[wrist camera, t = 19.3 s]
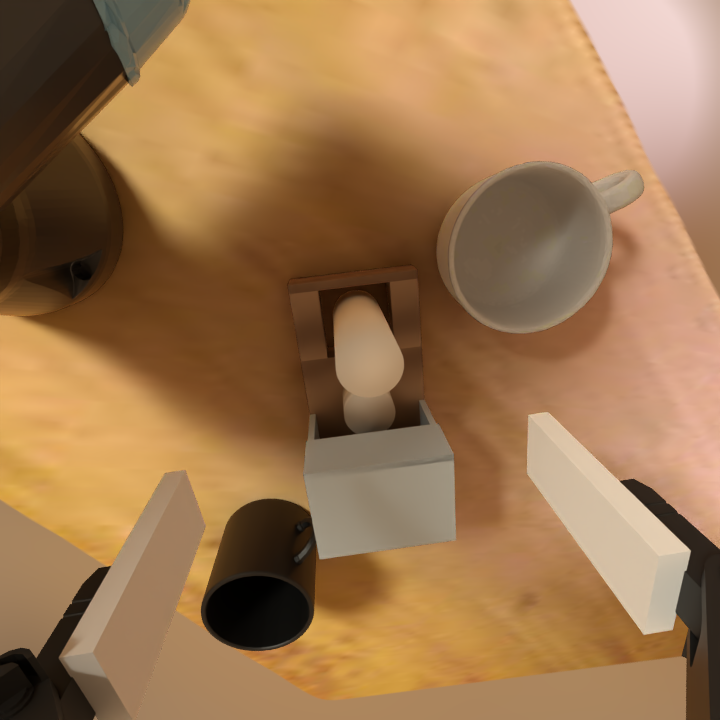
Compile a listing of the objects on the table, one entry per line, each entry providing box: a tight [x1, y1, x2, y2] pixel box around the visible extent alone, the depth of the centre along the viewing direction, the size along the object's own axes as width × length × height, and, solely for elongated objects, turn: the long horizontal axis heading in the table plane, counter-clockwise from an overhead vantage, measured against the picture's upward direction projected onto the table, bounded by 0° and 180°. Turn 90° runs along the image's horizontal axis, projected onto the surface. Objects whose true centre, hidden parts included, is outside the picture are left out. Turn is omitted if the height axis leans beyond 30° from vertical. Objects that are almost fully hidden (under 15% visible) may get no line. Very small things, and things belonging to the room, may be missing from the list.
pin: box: [333, 290, 404, 398], centre depth 29 cm, size 4×4×12 cm
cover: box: [303, 400, 456, 559], centre depth 33 cm, size 8×10×9 cm
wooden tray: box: [288, 265, 424, 439], centre depth 35 cm, size 20×10×6 cm, turn 6°
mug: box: [201, 499, 316, 651], centre depth 39 cm, size 9×12×9 cm
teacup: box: [436, 161, 644, 334], centre depth 30 cm, size 14×11×8 cm
